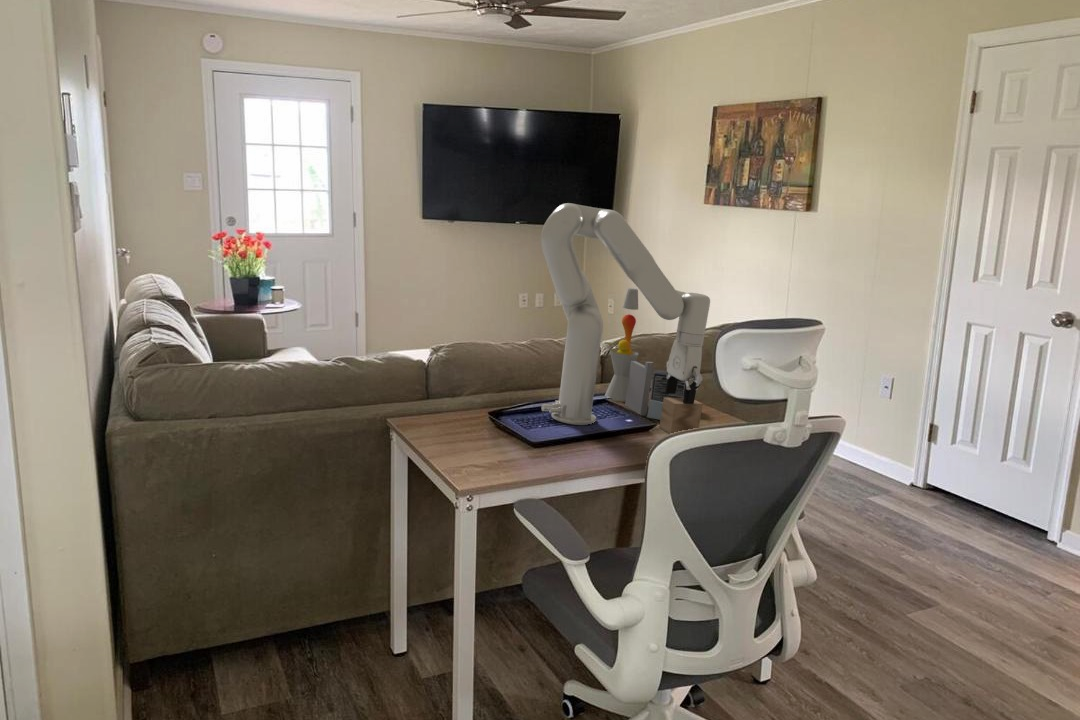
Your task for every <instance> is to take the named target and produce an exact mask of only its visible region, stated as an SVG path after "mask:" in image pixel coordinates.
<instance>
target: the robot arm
mask: <svg viewBox="0 0 1080 720" xmlns="http://www.w3.org/2000/svg"><path fill="white" fill-rule="evenodd" d="M540 234H541V235H540V246H541V251H542V255H543V258H544V261H545V263H546V266H547V270H548V273H549V275H550V278H551V281H552V284H553V288H554V293H555V296H556V297H557V299H558V300H559V302H560V305H561V307H562V309H563V312H564V315H565V318H566V320H567V327H566V336H565V344H564V353H563V360H562V369H561V370H562V372H561V378H560V379H561V381H560V386H559V388H560V389H559V395H558V399H557V400H556V399H555V400H554V403H553V402H552V404H548V403H546V404H545V403H543V404H541V407H540V408H541V412H549V413H550V414H551V418H552V419H554V420H555V421H557V422H560V423H563V424H568V425H573V426H589V425H588V424H590V425H593V424H595V423H596V422H595V421H597V416H596V415H595V414H593V413H592V410H593V404H594V396H595V395H594V394H595V388H596V381H597V380H596V379H597V375H598V374H597V373H598V366H599V365H598V363H599V356H600V350H601V343H602V338H603V333H604V331H603V330H604V329H603V328H604V324H603V318H602V315H601V312H600V309H599V306H598V303H597V300H596V298H595V295H594V293H593V290H592V287H591V284H590V281H589V279H588V276H587V275H586V274H585V272H584V271H583V270H582V267H581V263H580V262H579V259H578V256H577V253H576V250H575V247H574V243H573V242H574V237H575V236H579V237H585V238H590V239H596V240H597V239H598V240H599V241H600V242H601V243H602V245H603V246H604V247H605V248H606V250H607V252H608V253H609V254H610V256H611V257H612V258H613V259H614V260H615V262H616V263H617V265H619V267H620V268H621V270H622V271H623V273H624V274H625V275H626V277H627V278H628V279H629V280H630V281H631V282H632V283H634V284H635V286H636V287H637V289H638V291H640V293H641V294H642V295H643V296H644V297H645V299H646V300H647V302H648V303H649V304H650V306H651V307H652V308H653V309H654V311H655V313H656V314H657V315H658V316H659V317H660V318H662V319H663V320H666V321H673V320H676V319H678V321H677V322H678V323H677V329H676V334H675V339H674V340H673V343H672V345H671V350H670V351H669V356H668V360H667V361H666V370H665V371H667V384H666V390H665V393H667V394H675V393H676V389H677V383H678V380H676V379H679V380H681V381H685V382H686V387H687V388H686V389H685V393H684V399H683V403H684V404H693V403H694V400H696V399H695V398H696V394H697V393H696V392H697V391H698V389H699V388H700V386H701V384H702V381H703V375H702V374H701V367H702V366H701V365H702V357H703V356H702V355H703V354H702V353H703V345H704V339H705V333H706V329H707V323H708V317H709V311H710V307H711V306H710V305H711V298H710V297H709V296H708V295H706V294H702V293H698V292H684V291H681V290H677V289H676V288H675V287H674V286H673V284H672V282H671V281H670V280H669V279H668V278H667V277H666V276H665V273H663V271H662V270H661V268H660V266H659V265H658V263H657V262H656V260H655V259H654V257H653V255H652V254H651V252H650V251H649V250H648V249H647V247H646V246H645V244H644V242H642V241H641V239H640V238H639V236H638V235H637V234H636V232H635V231H634V230H633V228H632V227H631V226H630V224H628V222H627V221H626V219H625V218H624V216H622V215H621V213H619V212H618V211H617V210H613V209H607V208H601V207H599V208H598V207H592V206H587V205H581V204H577V203H570V202H567V203H562V204H559V206H557V207H556V208H555V209H554V210H553V211H552V213H551V214H550V215H549V216H548V218H547V219H546V221H545V222H544V224H543V227H542V230H541V233H540ZM594 422H595V423H594ZM592 423H593V424H592Z"/></svg>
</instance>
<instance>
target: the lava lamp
mask: <svg viewBox="0 0 1080 720" xmlns="http://www.w3.org/2000/svg"><path fill="white" fill-rule="evenodd" d="M622 308H623V309H624V310H625V309H626V310H632V311H635V310H637V311H638V310H639V289H638V288H634V287H629V288H627V291H626V294H625V297H624V301H623V304H622ZM621 324H622V327H623V330H624V339H621V340H620V341H618V345H617V346H618V348H611V349H609V353H610V358H611V363H612V368H613V372H614V374H613V376H612V379H611V380H610V383H609V385H608V387H607V389H606V392H605V394H604V397H605V396H609V397H611V398H612V400H611V401H615V402H626V395H627V387H628V380H629V373H630V366H631V361H637V358H638V357H639V355H640V354H639V352H637V351H635V350H632V347H631V345H632V344H631V343H632V335H633V332H634V329H635V325H636V324H637V319H636V317H635V316H634V315H633V314H630V313H629V314H625V315H624V316H623V317H622V319H621Z"/></svg>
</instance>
